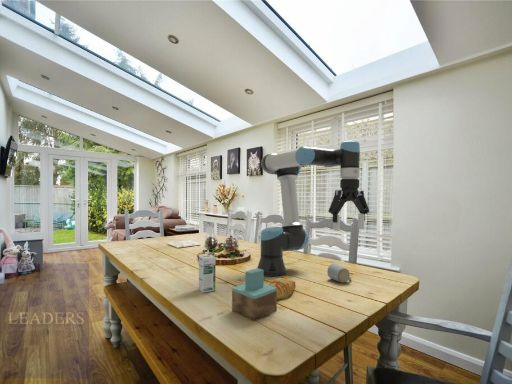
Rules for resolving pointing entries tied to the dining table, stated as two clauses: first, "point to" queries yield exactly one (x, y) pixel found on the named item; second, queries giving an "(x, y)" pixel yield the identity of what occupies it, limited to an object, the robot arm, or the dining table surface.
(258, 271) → the lid
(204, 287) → the syrup box
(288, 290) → the croissant
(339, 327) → the dining table surface
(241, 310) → the box
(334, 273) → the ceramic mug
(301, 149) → the robot arm
